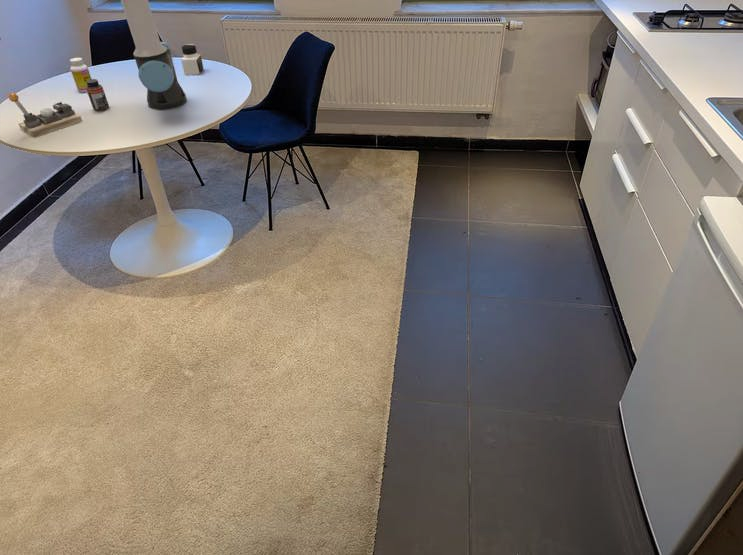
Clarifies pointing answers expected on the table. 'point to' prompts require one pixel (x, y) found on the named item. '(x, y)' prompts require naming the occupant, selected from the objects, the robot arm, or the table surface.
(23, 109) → the lever
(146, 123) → the table surface
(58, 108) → the rocker
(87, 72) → the supplement bottle
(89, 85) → the supplement bottle
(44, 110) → the button
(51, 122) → the panel
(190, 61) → the medicine bottle
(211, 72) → the table surface
